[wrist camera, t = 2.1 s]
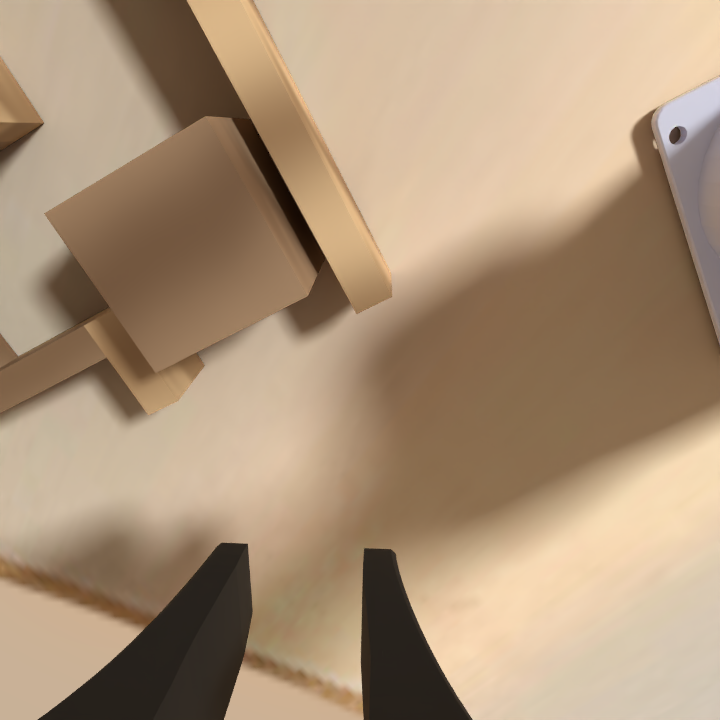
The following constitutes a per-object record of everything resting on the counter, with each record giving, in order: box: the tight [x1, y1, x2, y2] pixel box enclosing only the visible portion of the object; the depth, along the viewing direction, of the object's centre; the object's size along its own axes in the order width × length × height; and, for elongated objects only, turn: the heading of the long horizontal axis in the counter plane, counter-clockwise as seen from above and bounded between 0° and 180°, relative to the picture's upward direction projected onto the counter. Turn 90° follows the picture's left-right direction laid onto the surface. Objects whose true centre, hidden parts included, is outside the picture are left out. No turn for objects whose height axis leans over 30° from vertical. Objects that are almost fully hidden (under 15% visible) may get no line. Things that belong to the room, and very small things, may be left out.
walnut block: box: [44, 116, 325, 373], centre depth 17 cm, size 5×5×5 cm
